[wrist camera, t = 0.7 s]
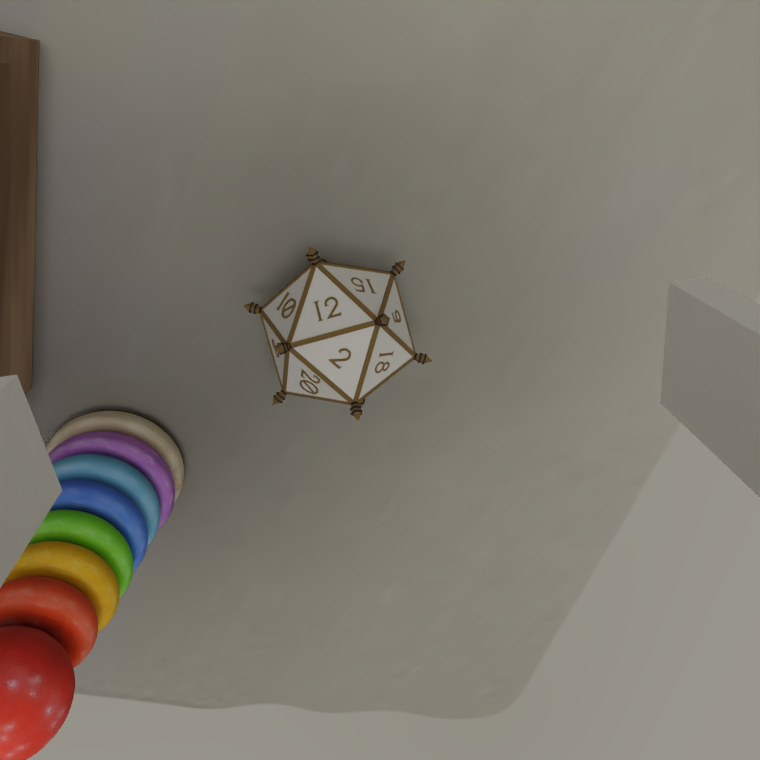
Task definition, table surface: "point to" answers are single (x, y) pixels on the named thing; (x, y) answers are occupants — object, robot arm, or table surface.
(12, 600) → the stacking toy
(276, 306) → the game die
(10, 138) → the square tray
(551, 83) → the table surface
